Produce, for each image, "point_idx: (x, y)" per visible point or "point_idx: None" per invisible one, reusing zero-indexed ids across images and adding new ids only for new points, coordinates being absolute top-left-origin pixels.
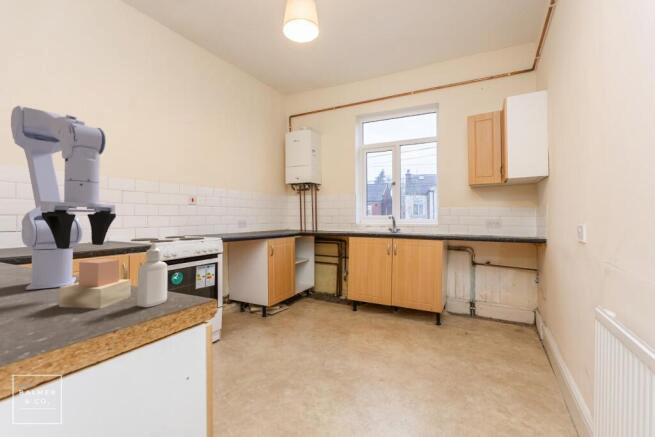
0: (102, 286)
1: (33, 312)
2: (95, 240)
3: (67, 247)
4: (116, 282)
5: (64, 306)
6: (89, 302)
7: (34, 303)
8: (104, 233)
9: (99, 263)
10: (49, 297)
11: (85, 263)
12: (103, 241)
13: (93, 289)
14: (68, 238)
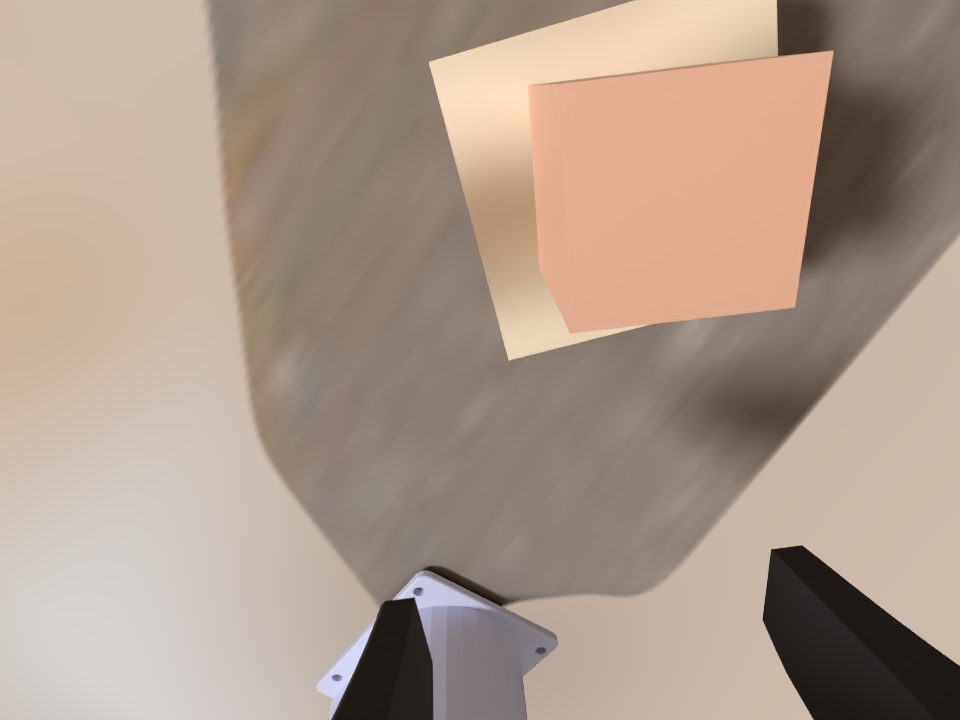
0: (702, 36)
1: (829, 264)
2: (422, 686)
3: (794, 550)
4: (557, 71)
5: None
6: None
7: (704, 413)
8: (366, 716)
9: (816, 53)
10: (606, 459)
11: (797, 231)
12: (378, 628)
13: (773, 30)
14: (868, 619)
